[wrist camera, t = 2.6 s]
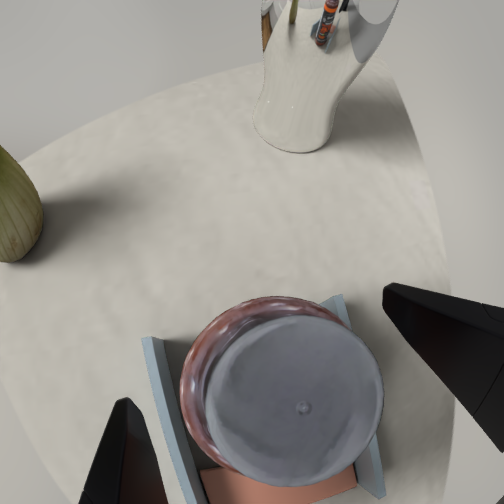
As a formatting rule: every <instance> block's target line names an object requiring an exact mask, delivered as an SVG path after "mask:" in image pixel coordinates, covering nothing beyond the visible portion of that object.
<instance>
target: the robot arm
mask: <svg viewBox="0 0 504 504" xmlns="http://www.w3.org/2000/svg"><path fill="white" fill-rule="evenodd" d="M382 306H383V309H384V311H385V313H386V314H387V315H388V317H389V318H390V319H391V321H392V322H393V323H394V325H395V326H396V327H397V329H398V330H399V332H400V333H401V334H402V336H403V337H404V338H405V340H406V341H407V342H408V343H409V344H410V346H411V347H412V348H413V349H414V350H415V351H416V352H417V353H418V354H419V356H420V357H421V358H422V359H423V360H424V361H425V362H426V363H427V364H428V366H429V367H430V368H431V369H432V370H433V371H434V372H435V374H436V375H437V376H438V377H439V378H440V379H441V380H442V382H443V383H444V384H445V385H446V386H447V387H448V388H449V390H450V391H451V392H452V393H453V394H454V395H455V397H456V398H457V399H458V400H459V401H460V402H461V404H462V405H463V406H464V407H465V408H466V410H467V411H468V412H469V413H470V415H471V416H473V418H474V419H475V421H476V422H477V423H478V424H479V426H480V427H481V428H482V429H483V431H484V432H485V433H486V434H487V436H488V437H489V438H490V439H491V440H492V442H493V443H494V444H495V446H496V447H497V448H498V449H499V451H500V452H502V453H503V452H504V308H501V307H497V306H492V305H488V304H483V303H482V304H481V303H479V302H475V301H470V300H466V299H462V298H458V297H454V296H449V295H445V294H441V293H437V292H433V291H428V290H424V289H420V288H416V287H411V286H407V285H403V284H399V283H391V284H389V285H387V286H385V287H384V289H383V300H382ZM78 504H168V500H167V497H166V493H165V489H164V485H163V481H162V477H161V473H160V469H159V465H158V461H157V457H156V454H155V451H154V448H153V445H152V442H151V439H150V436H149V433H148V430H147V426H146V423H145V420H144V417H143V414H142V412H141V411H140V410H139V408H138V407H137V406H136V405H135V404H134V403H133V401H132V400H131V399H130V398H128V397H125V398H122V399H119V400H117V401H116V402H115V405H114V407H113V410H112V412H111V415H110V417H109V420H108V423H107V425H106V428H105V430H104V433H103V436H102V438H101V441H100V443H99V446H98V449H97V452H96V454H95V457H94V460H93V463H92V465H91V468H90V471H89V474H88V477H87V480H86V483H85V486H84V491H82V494H81V497H80V500H79V503H78ZM496 504H504V496H503V497H502V498H501V499H500V500H499V501H498V502H497V503H496Z"/></svg>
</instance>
